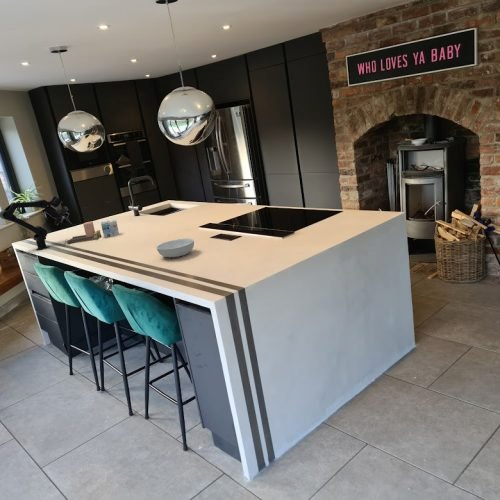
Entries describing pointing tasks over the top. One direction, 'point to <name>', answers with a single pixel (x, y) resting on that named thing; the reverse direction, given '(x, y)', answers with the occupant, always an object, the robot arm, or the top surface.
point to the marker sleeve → (89, 229)
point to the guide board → (85, 238)
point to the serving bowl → (175, 247)
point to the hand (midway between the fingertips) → (72, 225)
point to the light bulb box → (110, 228)
